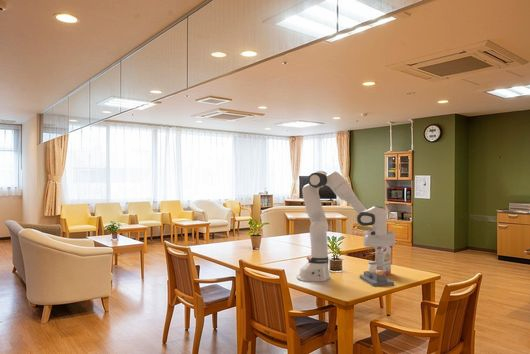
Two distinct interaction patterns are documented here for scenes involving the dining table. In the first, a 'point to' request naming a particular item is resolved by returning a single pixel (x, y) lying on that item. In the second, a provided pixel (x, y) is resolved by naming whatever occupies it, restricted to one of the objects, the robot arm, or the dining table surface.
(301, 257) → the dining table surface
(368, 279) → the housing
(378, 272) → the plunger
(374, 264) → the cartridge
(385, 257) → the cracker box
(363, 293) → the dining table surface
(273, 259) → the dining table surface
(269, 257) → the dining table surface
